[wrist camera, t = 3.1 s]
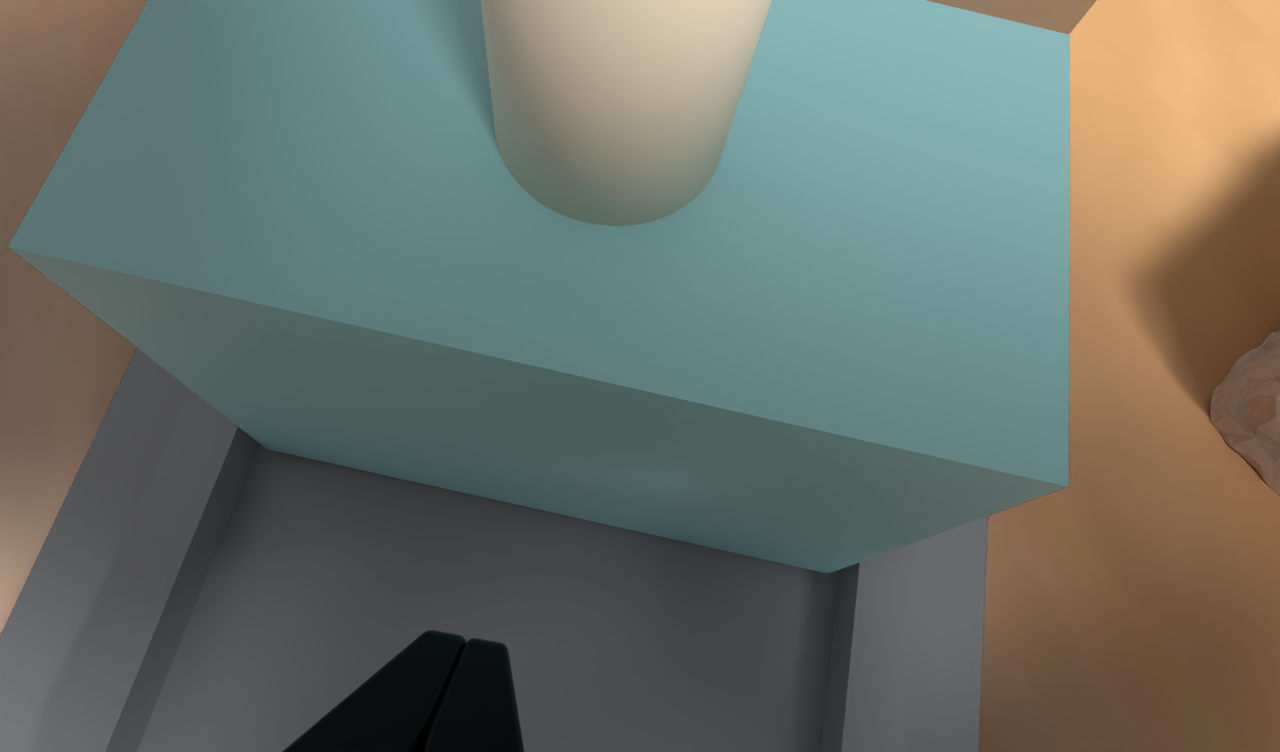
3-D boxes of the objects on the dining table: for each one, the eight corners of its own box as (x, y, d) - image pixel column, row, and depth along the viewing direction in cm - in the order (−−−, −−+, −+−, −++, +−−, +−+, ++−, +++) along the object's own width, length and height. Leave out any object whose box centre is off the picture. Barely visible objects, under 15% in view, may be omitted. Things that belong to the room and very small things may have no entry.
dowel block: (827, 573, 14) (1935, 175, 3) (267, 449, 14) (-995, -534, 3) (859, 295, 16) (1571, -584, 5) (370, 182, 16) (-78, -1016, 5)
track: (932, 989, 13) (1152, 1173, 8) (-23, 789, 13) (-373, 859, 8) (981, 95, 20) (1116, -88, 15) (359, -52, 20) (296, -288, 15)
